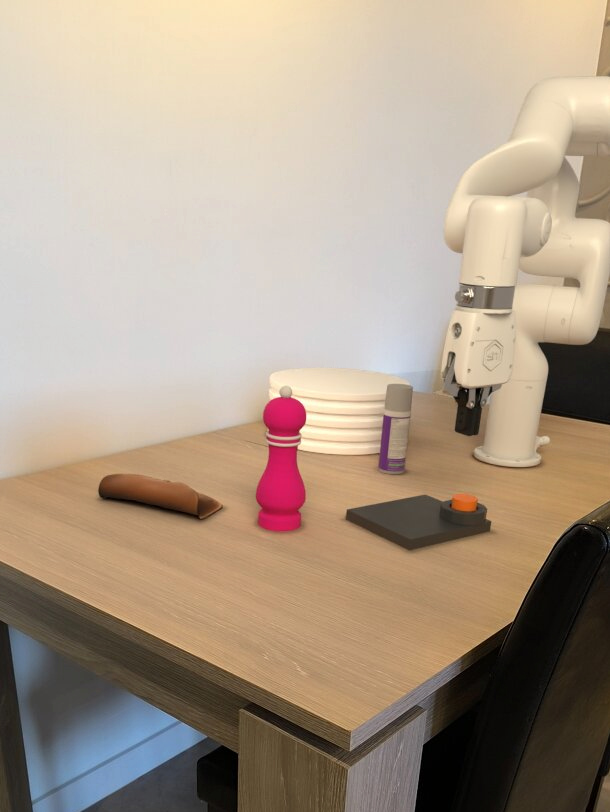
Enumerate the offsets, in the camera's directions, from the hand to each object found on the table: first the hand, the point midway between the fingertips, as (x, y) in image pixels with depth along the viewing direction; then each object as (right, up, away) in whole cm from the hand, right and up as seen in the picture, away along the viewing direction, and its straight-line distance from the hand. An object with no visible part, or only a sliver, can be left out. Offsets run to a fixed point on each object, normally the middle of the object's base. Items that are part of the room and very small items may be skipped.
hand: (466, 433), depth 119 cm
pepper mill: (-27, -13, +2) cm, 30 cm away
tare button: (0, -11, +2) cm, 11 cm away
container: (-7, -1, +30) cm, 30 cm away
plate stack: (-15, +9, +50) cm, 54 cm away
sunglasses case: (-45, -9, +8) cm, 47 cm away
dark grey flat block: (-6, -13, +3) cm, 15 cm away
